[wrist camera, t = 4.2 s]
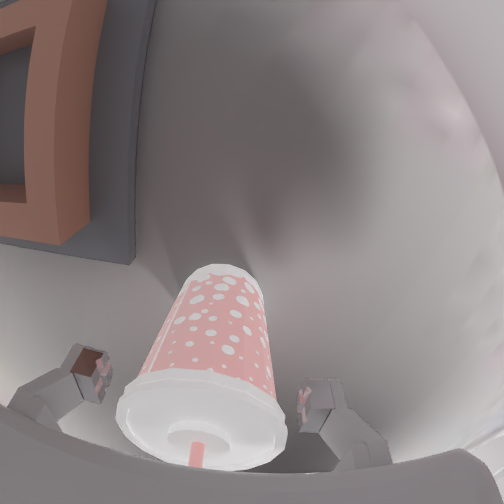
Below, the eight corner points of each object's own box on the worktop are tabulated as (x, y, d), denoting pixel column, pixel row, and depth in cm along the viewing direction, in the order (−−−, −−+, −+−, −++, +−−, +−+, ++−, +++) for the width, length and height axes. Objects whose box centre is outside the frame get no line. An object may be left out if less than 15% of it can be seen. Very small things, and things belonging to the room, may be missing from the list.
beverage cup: (212, 353, 19) (180, 571, 6) (148, 284, 17) (39, 521, 4) (296, 312, 17) (329, 569, 5) (235, 228, 15) (185, 561, 3)
